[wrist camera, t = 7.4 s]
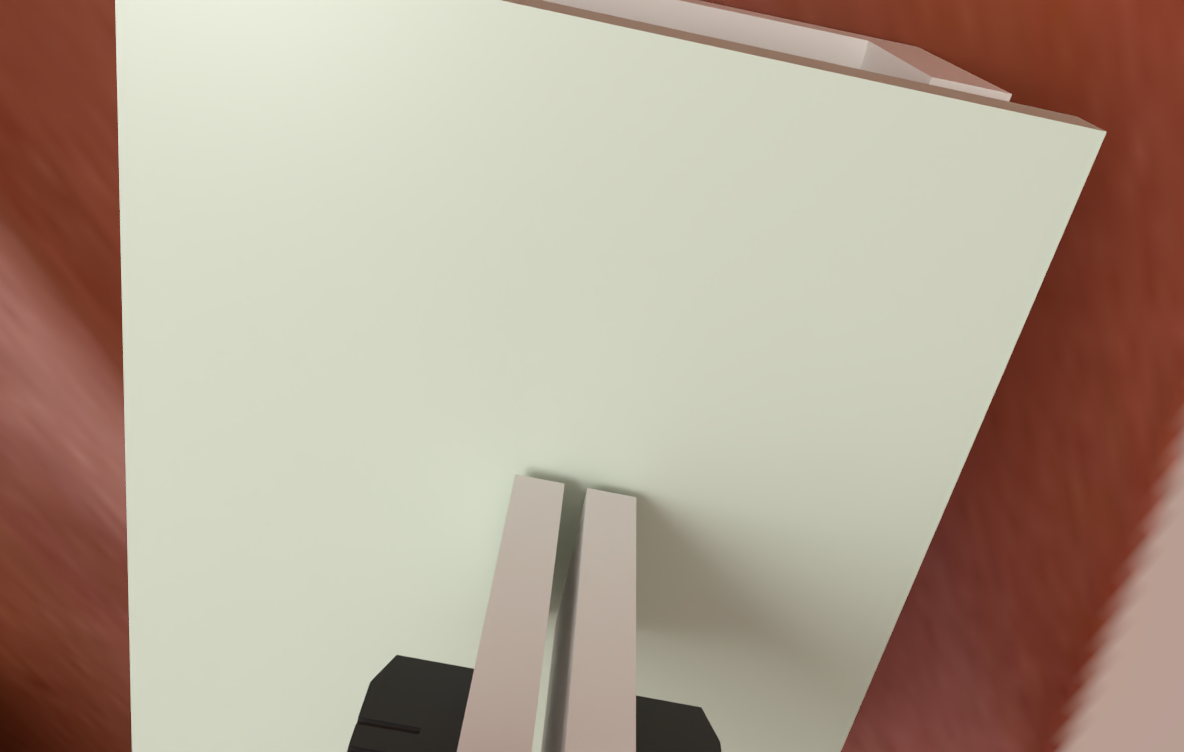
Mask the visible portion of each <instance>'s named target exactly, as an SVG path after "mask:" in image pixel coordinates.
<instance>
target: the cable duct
mask: <svg viewBox="0 0 1184 752" xmlns="http://www.w3.org/2000/svg"><path fill="white" fill-rule="evenodd" d="M543 1H547V2H552V3H557V4H561V5H566V6H570V7H575V8H580V9H584V10H589V11H593V12H598V13H603V14H607V15H612V16H616V17H621V18H626V19H630V20H635V21H639V22H644V23H649V24H653V25H658V26H662V27H667V28H672V29H676V30H681V31H685V32H690V33H695V34H699V35H704V36H709V37H713V38H718V39H722V40H727V41H732V42H736V43H741V44H745V45H750V46H755V47H759V48H764V49H768V50H773V51H778V52H782V53H787V54H791V55H796V56H801V57H805V58H810V59H814V60H819V61H824V62H828V63H833V64H837V65H842V66H847V67H851V68H856V69H861V70H865V71H870V72H874V73H879V74H884V75H888V76H893V77H897V78H902V79H907V80H911V81H916V82H920V83H925V84H930V85H934V86H939V87H943V88H948V89H953V90H957V91H962V92H966V93H971V94H976V95H980V96H985V97H989V98H994V99H999V100H1003V101H1008V102H1009V101H1010V98H1011V96H1012V94H1011V93H1009V92H1007V91H1005V90H1003V89H1001V88H999V87H997V86H995V85H993V84H991V83H989V82H987V81H985V80H983V79H981V78H979V77H977V76H975V75H973V74H971V73H969V72H967V71H965V70H963V69H961V68H959V67H957V66H955V65H953V64H951V63H949V62H947V61H945V60H943V59H941V58H939V57H937V56H935V55H933V54H931V53H929V52H927V51H925V50H923V49H921V48H919V47H916V46H911V45H906V44H902V43H897V42H892V41H888V40H883V39H878V38H873V37H869V36H864V35H859V34H855V33H850V32H845V31H841V30H836V29H831V28H827V27H822V26H817V25H813V24H808V23H803V22H799V21H794V20H789V19H785V18H780V17H775V16H770V15H766V14H761V13H756V12H752V11H747V10H742V9H738V8H733V7H728V6H724V5H719V4H714V3H710V2H705V1H700V0H543Z"/></svg>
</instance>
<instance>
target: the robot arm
mask: <svg viewBox="0 0 1184 752" xmlns="http://www.w3.org/2000/svg"><path fill="white" fill-rule="evenodd" d="M563 492H564V483H559V482H554V481H548V480H543V479H538V478H533V477H528V476H522V475H517V474H515V478H514V483H513V487H512V492H511V497H510V502H509V506H508V511H507V516H506V521H505V525H504V530H503V535H502V540H501V544H500V549H499V554H498V559H497V563H496V568H495V573H494V577H493V582H492V587H491V592H490V596H489V601H488V606H487V611H486V615H485V620H484V625H483V630H482V634H481V639H480V644H479V649H478V653H477V658H476V663H475V668H474V669H473V668H467V667H462V666H456V665H451V664H445V663H440V662H434V661H429V660H423V659H418V658H412V657H406V656H401V655H396V656H395V657H394V658H393V659H392V660H391V661H390V662H389V663H388V664H387V665H386V666H385V667H384V668H383V669H382V670H381V671H380V672H379V673H378V674H377V675H376V676H375V677H374V678H373V680H372V681H371V682H370V684H369V687H368V690H367V693H366V696H365V699H364V701H363V704H362V707H361V710H360V713H359V716H358V721H357V724H356V725H355V728H354V731H353V734H352V737H351V740H350V743H349V746H348V750H347V752H532V744H533V736H534V728H535V719H536V711H537V703H538V695H539V687H540V679H541V671H542V663H543V655H544V646H545V638H546V630H547V622H548V614H549V606H550V598H551V590H552V582H553V574H554V565H555V557H556V549H557V541H558V533H559V525H560V517H561V509H562V501H563ZM541 752H721V743H720V740H719V739H718V737H717V735H716V733H715V731H714V729H713V728H712V726H711V724H710V722H709V720H708V719H707V717H706V715H705V713H704V711H703V709H702V708H701V707H697V706H691V705H686V704H680V703H675V702H669V701H664V700H658V699H653V698H647V697H642V696H636V497H632V496H627V495H622V494H616V493H611V492H606V491H601V490H596V489H590V488H587V491H586V496H585V500H584V504H583V508H582V513H581V517H580V521H579V526H578V530H577V534H576V538H575V543H574V547H573V551H572V555H571V560H570V564H569V568H568V572H567V577H566V581H565V585H564V589H563V594H562V598H561V602H560V607H559V611H558V615H557V619H556V624H555V631H554V640H553V648H552V657H551V666H550V675H549V684H548V693H547V702H546V711H545V719H544V728H543V737H542V746H541Z"/></svg>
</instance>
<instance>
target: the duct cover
mask: <svg viewBox="0 0 1184 752" xmlns="http://www.w3.org/2000/svg"><path fill="white" fill-rule="evenodd" d="M115 10H116V55H117V100H118V145H119V190H120V235H121V280H122V325H123V370H124V415H125V459H126V504H127V549H128V594H129V639H130V684H131V729H132V752H347V750H348V746H349V743H350V740H351V737H352V734H353V731H354V728H355V725H356V724H357V721H358V716H359V713H360V710H361V707H362V704H363V701H364V699H365V696H366V693H367V690H368V687H369V684H370V682H371V681H372V680H373V678H374V677H375V676H376V675H377V674H378V673H379V672H380V671H381V670H382V669H383V668H384V667H385V666H386V665H387V664H388V663H389V662H390V661H391V660H392V659H393V658H394V657H395V656H396V655H401V656H406V657H412V658H418V659H423V660H429V661H434V662H440V663H445V664H451V665H456V666H462V667H467V668H473V669H474V668H475V663H476V658H477V653H478V649H479V644H480V639H481V634H482V630H483V625H484V620H485V615H486V611H487V606H488V601H489V596H490V592H491V587H492V582H493V577H494V573H495V568H496V563H497V559H498V554H499V549H500V544H501V540H502V535H503V530H504V525H505V521H506V516H507V511H508V506H509V502H510V497H511V492H512V487H513V483H514V478H515V474H517V475H522V476H528V477H533V478H538V479H543V480H548V481H554V482H559V483H564V492H563V501H562V509H561V517H560V525H559V533H558V541H557V549H556V557H555V565H554V574H553V582H552V590H551V598H550V606H549V614H548V622H547V630H546V638H545V646H544V655H543V663H542V671H541V679H540V687H539V695H538V703H537V711H536V719H535V728H534V736H533V744H532V752H541V746H542V737H543V728H544V719H545V711H546V702H547V693H548V684H549V675H550V666H551V657H552V648H553V640H554V631H555V624H556V619H557V615H558V611H559V607H560V602H561V598H562V594H563V589H564V585H565V581H566V577H567V572H568V568H569V564H570V560H571V555H572V551H573V547H574V543H575V538H576V534H577V530H578V526H579V521H580V517H581V513H582V508H583V504H584V500H585V496H586V491H587V488H590V489H596V490H601V491H606V492H611V493H616V494H622V495H627V496H632V497H636V696H642V697H647V698H653V699H658V700H664V701H669V702H675V703H680V704H686V705H691V706H697V707H701V708H702V709H703V711H704V713H705V715H706V717H707V719H708V720H709V722H710V724H711V726H712V728H713V729H714V731H715V733H716V735H717V737H718V739H719V740H720V743H721V752H841V750H842V748H843V745H844V743H845V741H846V738H847V736H848V734H849V731H850V729H851V727H852V724H853V722H854V720H855V717H856V715H857V713H858V710H859V708H860V706H861V703H862V701H863V699H864V696H865V694H866V692H867V689H868V687H869V685H870V682H871V680H872V678H873V675H874V673H875V671H876V668H877V666H878V664H879V661H880V659H881V657H882V654H883V652H884V650H885V647H886V645H887V643H888V640H889V638H890V636H891V633H892V631H893V629H894V626H895V624H896V622H897V619H898V617H899V615H900V612H901V610H902V608H903V605H904V603H905V601H906V598H907V596H908V594H909V591H910V589H911V587H912V584H913V582H914V580H915V577H916V575H917V573H918V570H919V568H920V566H921V563H922V561H923V559H924V556H925V554H926V552H927V549H928V547H929V545H930V542H931V540H932V538H933V536H934V533H935V531H936V529H937V526H938V524H939V522H940V519H941V517H942V515H943V512H944V510H945V508H946V505H947V503H948V501H949V498H950V496H951V494H952V491H953V489H954V487H955V484H956V482H957V480H958V477H959V475H960V473H961V470H962V468H963V466H964V463H965V461H966V459H967V456H968V454H969V452H970V449H971V447H972V445H973V442H974V440H975V438H976V435H977V433H978V431H979V428H980V426H981V424H982V421H983V419H984V417H985V414H986V412H987V410H988V407H989V405H990V403H991V400H992V398H993V396H994V393H995V391H996V389H997V386H998V384H999V382H1000V379H1001V377H1002V375H1003V372H1004V370H1005V368H1006V365H1007V363H1008V361H1009V358H1010V356H1011V354H1012V351H1013V349H1014V347H1015V344H1016V342H1017V340H1018V337H1019V335H1020V333H1021V330H1022V328H1023V326H1024V323H1025V321H1026V319H1027V317H1028V314H1029V312H1030V310H1031V307H1032V305H1033V303H1034V300H1035V298H1036V296H1037V293H1038V291H1039V289H1040V286H1041V284H1042V282H1043V279H1044V277H1045V275H1046V272H1047V270H1048V268H1049V265H1050V263H1051V261H1052V258H1053V256H1054V254H1055V251H1056V249H1057V247H1058V244H1059V242H1060V240H1061V237H1062V235H1063V233H1064V230H1065V228H1066V226H1067V223H1068V221H1069V219H1070V216H1071V214H1072V212H1073V209H1074V207H1075V205H1076V202H1077V200H1078V198H1079V195H1080V193H1081V191H1082V188H1083V186H1084V184H1085V181H1086V179H1087V177H1088V174H1089V172H1090V170H1091V167H1092V165H1093V163H1094V160H1095V158H1096V156H1097V153H1098V151H1099V149H1100V146H1101V144H1102V142H1103V139H1104V137H1105V135H1106V131H1104V130H1102V129H1100V128H1098V127H1097V126H1095V125H1093V124H1091V123H1089V122H1087V121H1085V120H1083V119H1081V118H1079V117H1077V116H1072V115H1068V114H1063V113H1059V112H1054V111H1049V110H1045V109H1040V108H1036V107H1031V106H1026V105H1022V104H1017V103H1013V102H1008V101H1003V100H999V99H994V98H989V97H985V96H980V95H976V94H971V93H966V92H962V91H957V90H953V89H948V88H943V87H939V86H934V85H930V84H925V83H920V82H916V81H911V80H907V79H902V78H897V77H893V76H888V75H884V74H879V73H874V72H870V71H865V70H861V69H856V68H851V67H847V66H842V65H837V64H833V63H828V62H824V61H819V60H814V59H810V58H805V57H801V56H796V55H791V54H787V53H782V52H778V51H773V50H768V49H764V48H759V47H755V46H750V45H745V44H741V43H736V42H732V41H727V40H722V39H718V38H713V37H709V36H704V35H699V34H695V33H690V32H685V31H681V30H676V29H672V28H667V27H662V26H658V25H653V24H649V23H644V22H639V21H635V20H630V19H626V18H621V17H616V16H612V15H607V14H603V13H598V12H593V11H589V10H584V9H580V8H575V7H570V6H566V5H561V4H557V3H552V2H547V1H543V0H115Z"/></svg>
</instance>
